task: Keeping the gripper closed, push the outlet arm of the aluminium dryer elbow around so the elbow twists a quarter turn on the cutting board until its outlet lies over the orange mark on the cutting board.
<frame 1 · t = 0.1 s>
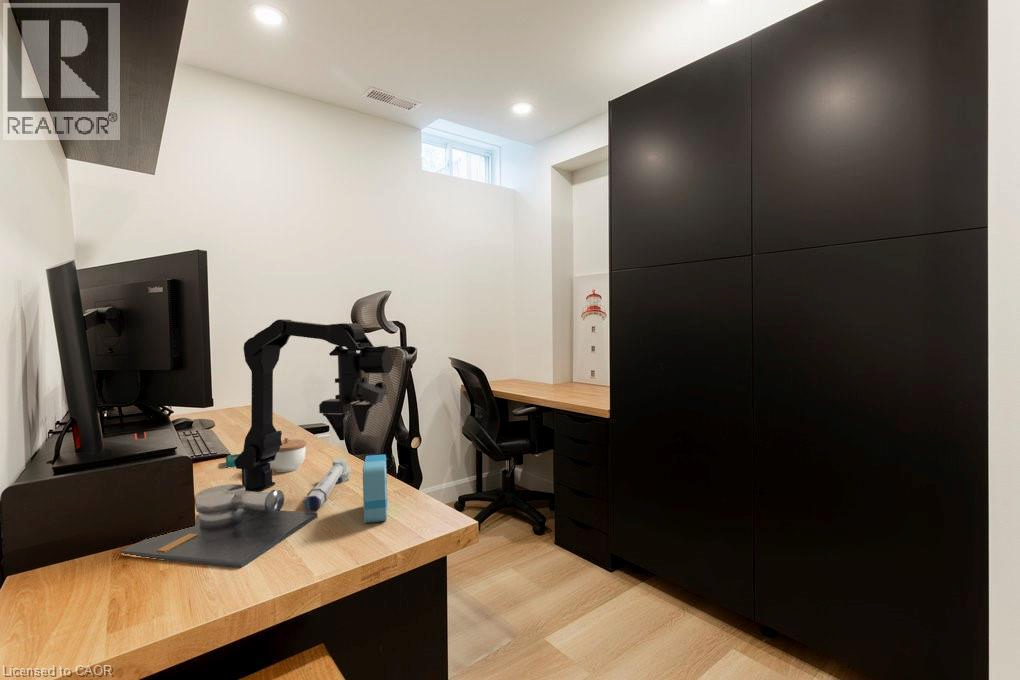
hand: (352, 435, 118), 15 cm above the table, tool pointing down, fingers open, 9 cm apart
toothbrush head: (329, 494, 119), on the table
cutting board: (227, 535, 95), on the table
lidded jar: (287, 469, 140), on the table
data package: (376, 514, 105), on the table
dryer elbow: (239, 499, 99), point 6 cm above the table, hinge at 0.0°
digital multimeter: (252, 463, 149), on the table
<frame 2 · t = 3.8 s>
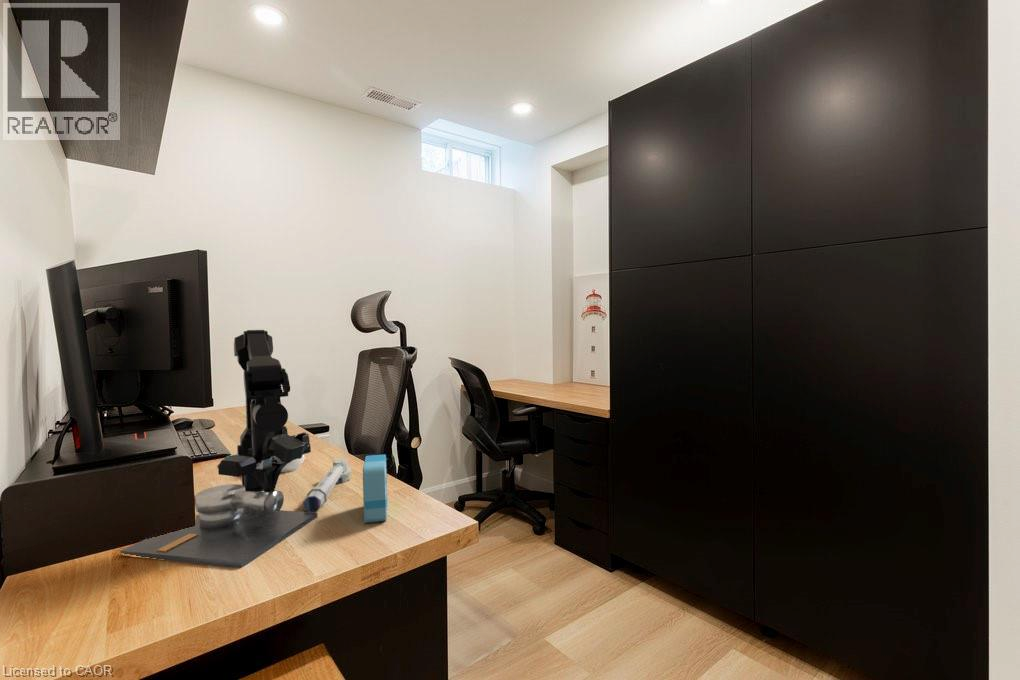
hand: (269, 496, 100), 6 cm above the table, tool pointing down, fingers closed
dryer elbow: (239, 499, 99), point 6 cm above the table, hinge at -1.0°, touching gripper
everything else where it was.
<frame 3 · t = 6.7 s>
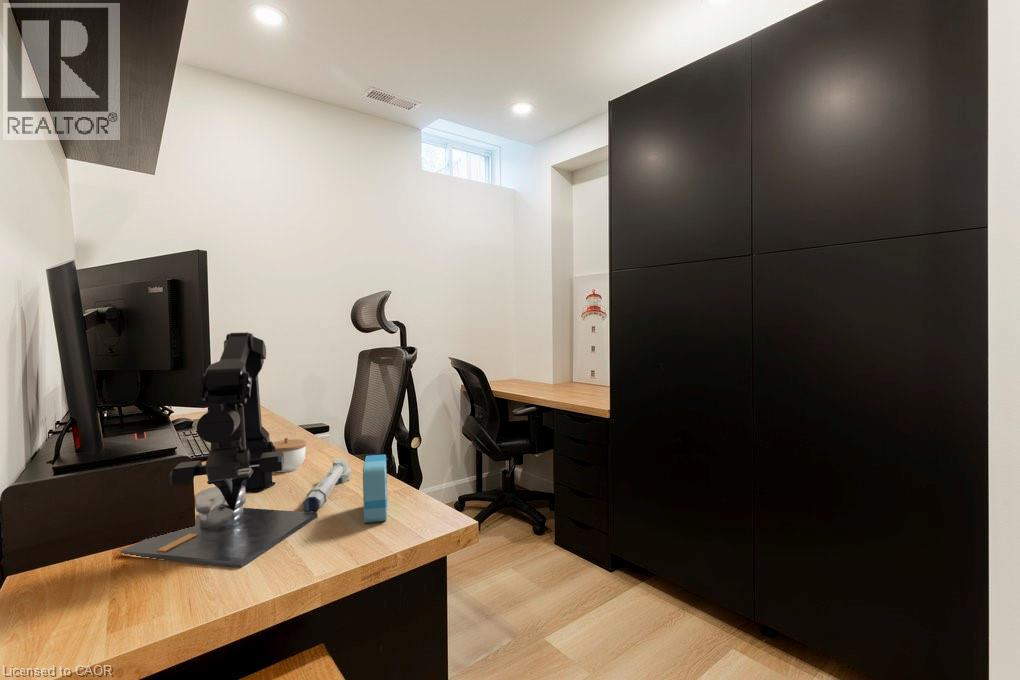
hand: (232, 510, 92), 6 cm above the table, tool pointing down, fingers closed
dryer elbow: (220, 504, 96), point 6 cm above the table, hinge at -47.5°, touching gripper
everything else where it was.
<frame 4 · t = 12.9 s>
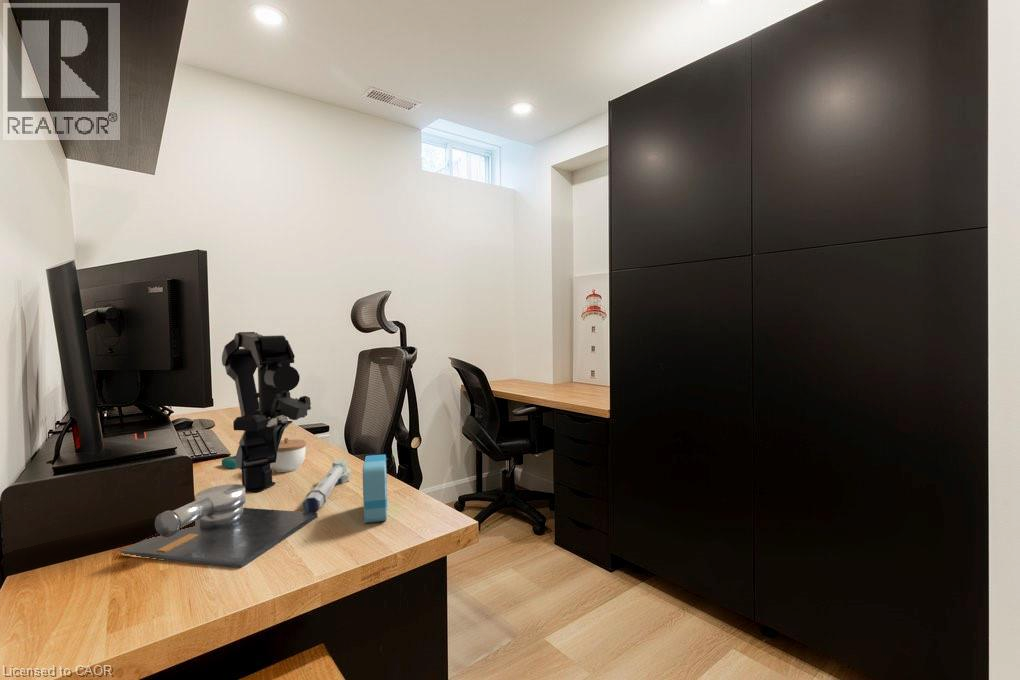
hand: (274, 452, 113), 12 cm above the table, tool pointing down, fingers closed
dryer elbow: (204, 506, 96), point 6 cm above the table, hinge at -87.2°
at the end: dryer elbow at -87° (first picture: +0°) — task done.
